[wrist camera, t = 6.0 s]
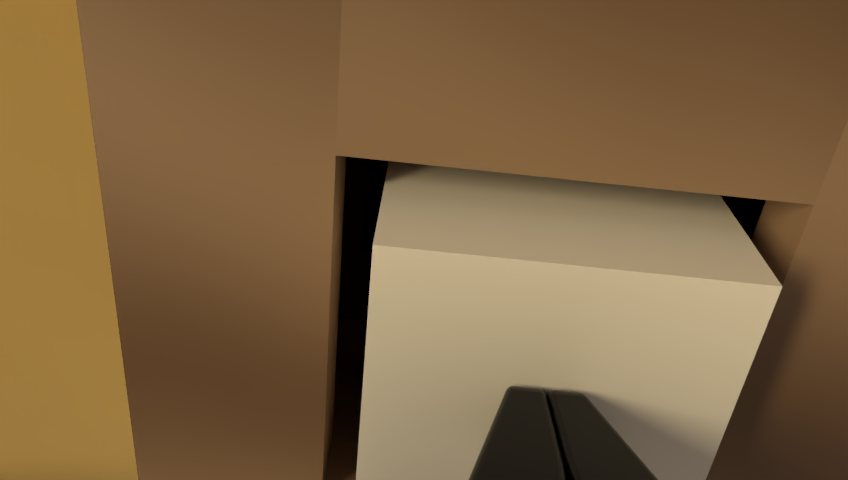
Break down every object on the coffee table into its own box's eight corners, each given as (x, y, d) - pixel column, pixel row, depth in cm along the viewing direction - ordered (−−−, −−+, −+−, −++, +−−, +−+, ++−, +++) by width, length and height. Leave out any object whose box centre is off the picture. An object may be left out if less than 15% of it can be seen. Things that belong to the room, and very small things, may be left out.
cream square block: (624, 384, 12) (675, 555, 9) (376, 360, 12) (353, 525, 9) (692, 155, 10) (782, 286, 7) (395, 124, 10) (373, 244, 7)
